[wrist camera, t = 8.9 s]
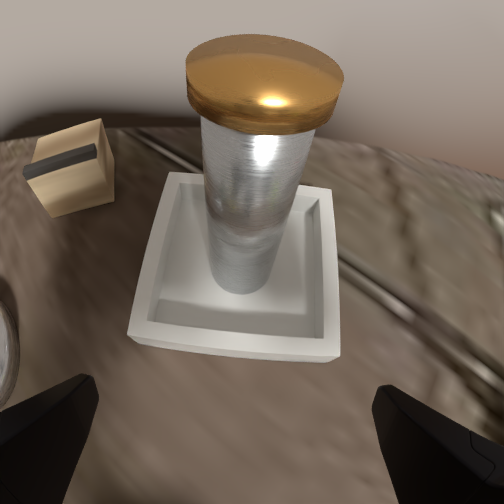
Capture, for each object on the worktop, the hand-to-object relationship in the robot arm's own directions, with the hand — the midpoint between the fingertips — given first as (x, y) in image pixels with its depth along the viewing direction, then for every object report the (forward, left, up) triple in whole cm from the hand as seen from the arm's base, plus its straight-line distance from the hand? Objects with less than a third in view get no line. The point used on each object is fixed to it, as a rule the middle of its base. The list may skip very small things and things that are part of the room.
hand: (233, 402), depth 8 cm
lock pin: (+8, +3, -9) cm, 13 cm away
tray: (+8, +3, -10) cm, 13 cm away
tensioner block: (+8, +19, -10) cm, 23 cm away
